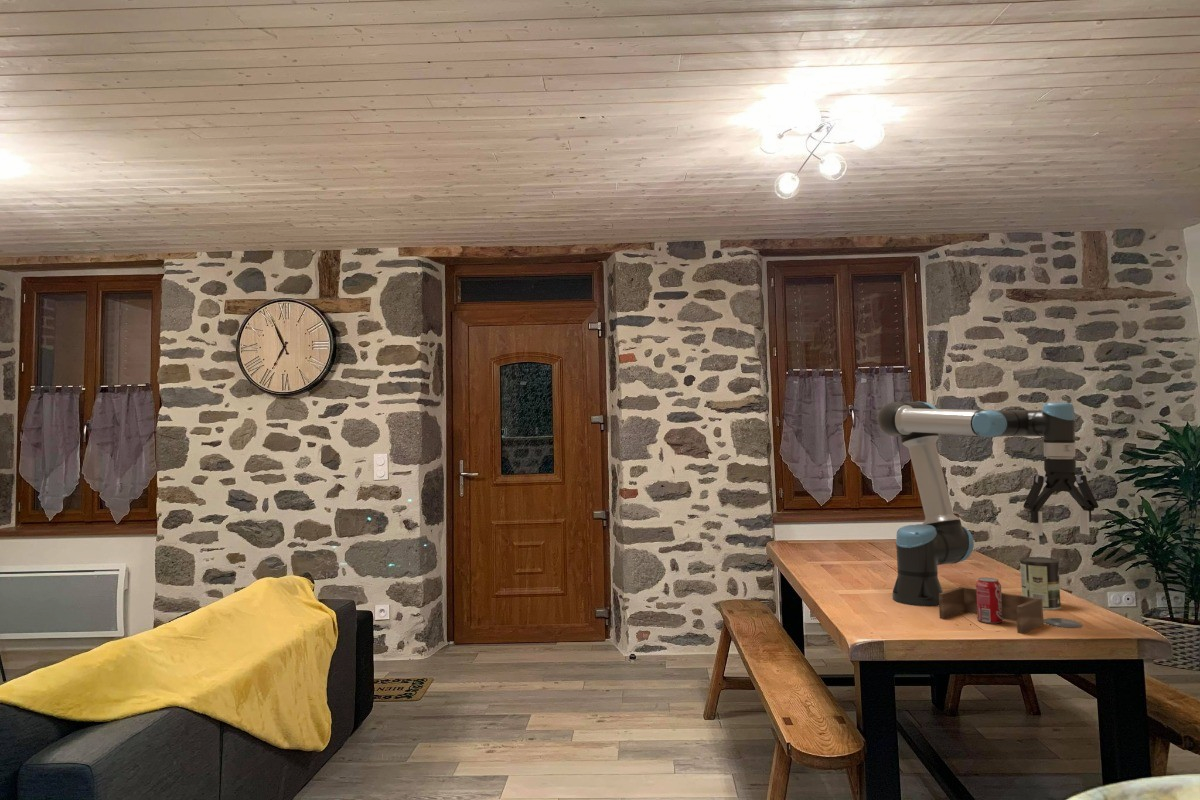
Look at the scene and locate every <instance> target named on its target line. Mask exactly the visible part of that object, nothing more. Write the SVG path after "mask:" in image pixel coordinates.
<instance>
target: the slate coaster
mask: <svg viewBox="0 0 1200 800" xmlns="http://www.w3.org/2000/svg"><path fill="white" fill-rule="evenodd" d="M1045 623H1046V624H1045ZM1043 624H1045V625H1047V624H1049V625H1048V626H1051V625H1052V626H1051V627H1055V626H1057V627H1056V628H1062V627H1063V628H1065V629H1079V628H1082V627H1083V624H1082V622H1080V621H1077V620H1074V619H1073V620H1072V619H1069V618H1068V619H1067V618H1060V617H1050V618H1048V617H1047V618H1043ZM1081 626H1082V627H1081Z"/></svg>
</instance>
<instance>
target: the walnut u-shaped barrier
mask: <svg viewBox="0 0 1200 800" xmlns="http://www.w3.org/2000/svg"><path fill="white" fill-rule="evenodd" d="M1001 593H1002V619H1003V620H1009V621H1014V622H1016V629H1017V634H1022V635H1024V634H1025V633H1027V632H1029V631H1032V630H1034V629H1038V628H1040V627H1041V625H1042V626H1043V625H1044V622H1043V620H1044V610H1043V603H1042V599H1040V598H1033V597H1026V596H1022V595H1018V594H1011V593H1006V592H1001ZM938 613H939V619H940V620H945V619H948V618H951V617H954V616H957V615H959V614H963V613H970V614H975V615H977V595H976V588H972V587H966V586H959V587H956V588H952V589H949V590H946V591H943V593H939V606H938Z"/></svg>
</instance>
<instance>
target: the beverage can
mask: <svg viewBox="0 0 1200 800" xmlns="http://www.w3.org/2000/svg"><path fill="white" fill-rule="evenodd" d="M975 589H976V595H977V614H976V615H977V616H976V617H977V620H978V621H980V622H981V623H984V624H989V625H990V624H991V625H997V624H1001V623H1002V622H1003V620H1004V619H1002V593H1003V592H1002V585H1001V583H1000V581H999V579H997V578H994V577H978V579H977V581H976V584H975Z"/></svg>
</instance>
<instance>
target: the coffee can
mask: <svg viewBox="0 0 1200 800" xmlns="http://www.w3.org/2000/svg"><path fill="white" fill-rule="evenodd" d="M1019 562H1020V566H1019V567H1020V582H1021V583H1020V584H1021V585H1020V586H1021V587H1020V588H1021V596H1026V597H1033V598H1040V599H1042V603H1043V611H1044V610H1045V611H1046V610H1047V611H1053V610H1054V611H1056V610H1061V609H1062V606H1061V603H1062V602H1061V589H1060V569H1059V568H1060V566H1059V565H1060V561H1059V560H1058V559H1056V558H1055V559H1054V558H1050V557H1042V556H1041V557H1040V556H1036V557H1035V556H1025V557H1020V558H1019Z"/></svg>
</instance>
